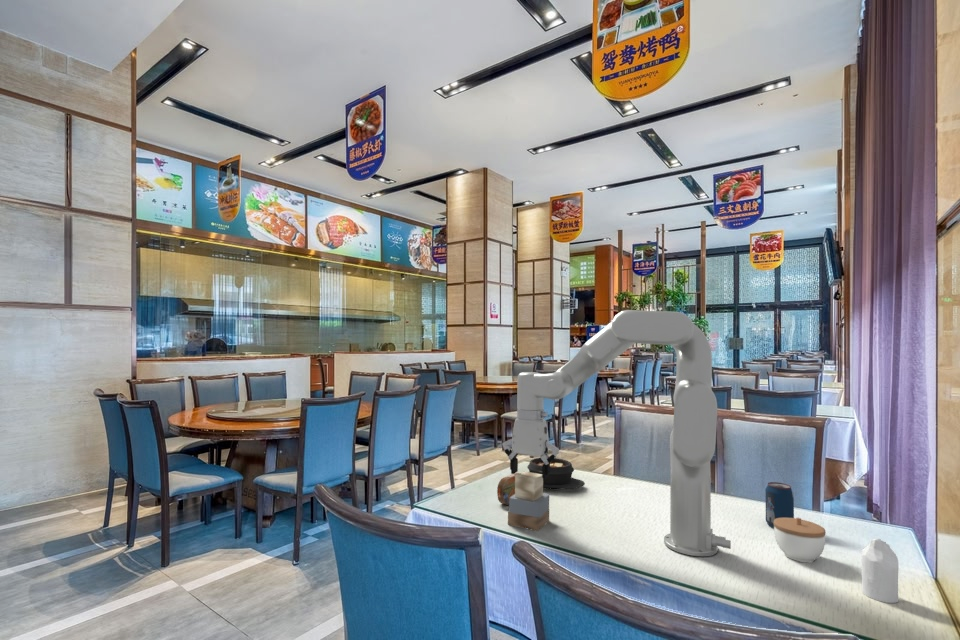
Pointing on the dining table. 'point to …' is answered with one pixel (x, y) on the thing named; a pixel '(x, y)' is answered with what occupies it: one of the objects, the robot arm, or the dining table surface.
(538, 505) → the slate block
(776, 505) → the soda can
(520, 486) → the maple cube
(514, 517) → the walnut block
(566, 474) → the casserole
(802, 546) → the lidded jar
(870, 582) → the white plastic bottle
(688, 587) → the dining table surface
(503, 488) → the tin
